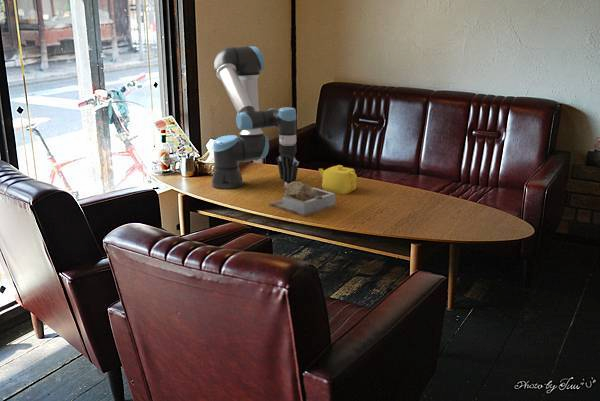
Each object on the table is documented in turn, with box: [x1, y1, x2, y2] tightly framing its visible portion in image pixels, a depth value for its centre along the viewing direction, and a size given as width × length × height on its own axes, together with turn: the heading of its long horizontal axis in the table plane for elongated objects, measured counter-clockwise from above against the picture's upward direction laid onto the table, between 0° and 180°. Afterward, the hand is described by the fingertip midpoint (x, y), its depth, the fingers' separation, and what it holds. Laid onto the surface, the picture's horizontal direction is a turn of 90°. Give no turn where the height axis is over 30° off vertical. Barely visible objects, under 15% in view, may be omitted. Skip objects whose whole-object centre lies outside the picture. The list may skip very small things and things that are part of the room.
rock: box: [283, 180, 316, 201], centre depth 279 cm, size 11×12×10 cm
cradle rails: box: [282, 187, 336, 214], centre depth 276 cm, size 14×19×5 cm
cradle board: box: [268, 198, 336, 218], centre depth 280 cm, size 22×19×1 cm
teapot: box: [318, 164, 358, 195], centre depth 302 cm, size 20×12×12 cm, turn 57°
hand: (288, 195), depth 285 cm, fingers closed
